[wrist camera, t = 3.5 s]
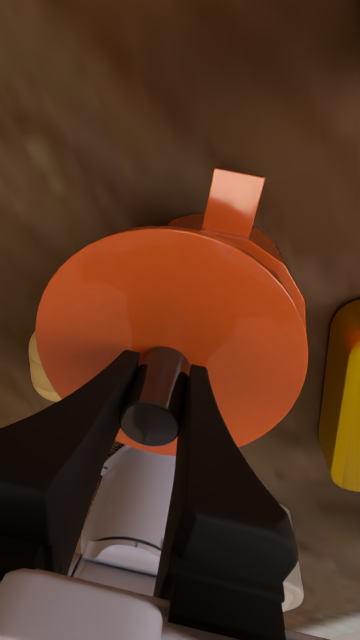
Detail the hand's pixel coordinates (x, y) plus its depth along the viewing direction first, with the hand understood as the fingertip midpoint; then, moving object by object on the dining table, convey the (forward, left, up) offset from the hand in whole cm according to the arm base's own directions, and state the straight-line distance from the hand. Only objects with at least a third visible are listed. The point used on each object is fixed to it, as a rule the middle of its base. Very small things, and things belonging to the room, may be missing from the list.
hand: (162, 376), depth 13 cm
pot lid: (0, 0, -1) cm, 1 cm away
